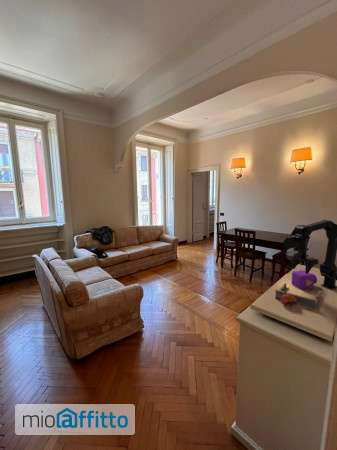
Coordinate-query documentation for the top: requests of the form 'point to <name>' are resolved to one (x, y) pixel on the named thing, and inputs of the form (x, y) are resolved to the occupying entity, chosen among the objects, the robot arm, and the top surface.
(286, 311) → the top surface
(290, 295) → the pomegranate
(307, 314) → the top surface
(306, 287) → the toy camera
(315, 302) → the guide bay
